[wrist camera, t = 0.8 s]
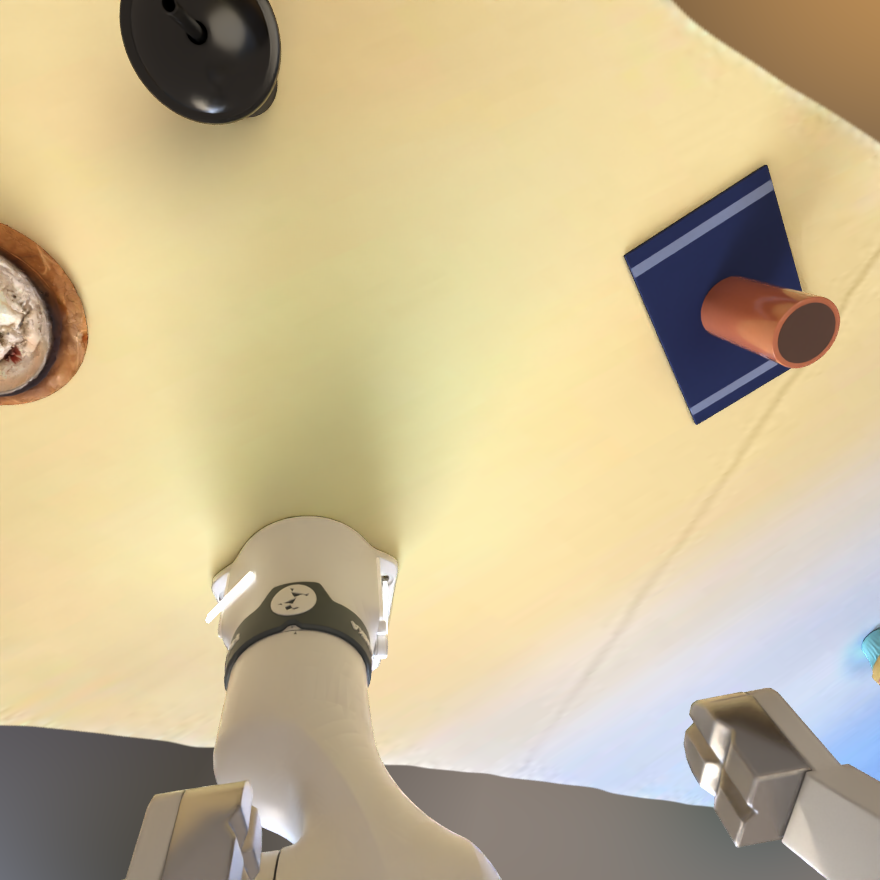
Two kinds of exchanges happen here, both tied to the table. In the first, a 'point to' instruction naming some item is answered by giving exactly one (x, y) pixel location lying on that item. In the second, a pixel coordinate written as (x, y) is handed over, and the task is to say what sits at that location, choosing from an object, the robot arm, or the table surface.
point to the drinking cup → (205, 55)
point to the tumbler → (771, 320)
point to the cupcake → (873, 653)
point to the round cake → (36, 322)
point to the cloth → (700, 268)
